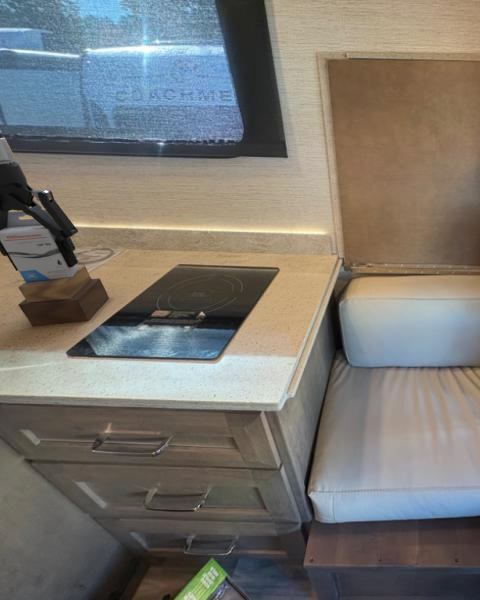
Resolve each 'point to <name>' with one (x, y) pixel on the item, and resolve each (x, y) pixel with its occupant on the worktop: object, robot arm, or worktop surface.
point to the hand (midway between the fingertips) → (48, 266)
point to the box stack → (63, 299)
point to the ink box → (34, 249)
